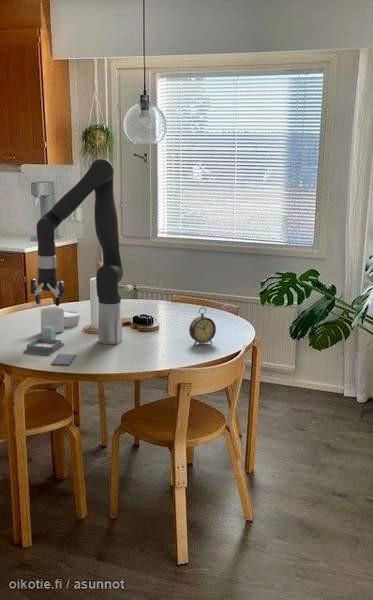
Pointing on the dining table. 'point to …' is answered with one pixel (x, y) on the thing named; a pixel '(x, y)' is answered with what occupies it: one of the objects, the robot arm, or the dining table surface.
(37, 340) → the grey shallow rectangular tray
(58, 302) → the robot arm
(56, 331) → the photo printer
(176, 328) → the dining table surface
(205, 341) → the alarm clock
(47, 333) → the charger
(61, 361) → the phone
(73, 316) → the ramekin
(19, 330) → the dining table surface
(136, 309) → the dining table surface
